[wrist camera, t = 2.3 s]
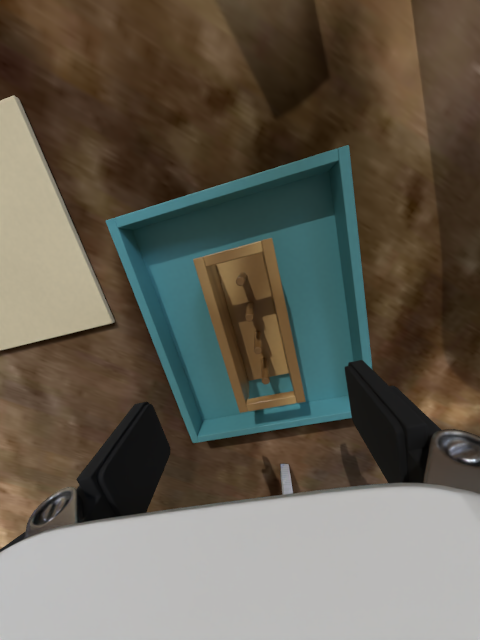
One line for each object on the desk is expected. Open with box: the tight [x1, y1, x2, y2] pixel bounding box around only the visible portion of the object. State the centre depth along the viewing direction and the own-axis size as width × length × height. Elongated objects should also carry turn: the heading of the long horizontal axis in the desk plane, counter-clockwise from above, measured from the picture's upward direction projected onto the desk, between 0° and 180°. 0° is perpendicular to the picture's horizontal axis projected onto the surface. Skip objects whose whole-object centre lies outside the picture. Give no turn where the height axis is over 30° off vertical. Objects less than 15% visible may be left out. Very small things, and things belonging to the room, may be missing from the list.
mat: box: [0, 96, 115, 351], centre depth 23 cm, size 16×20×1 cm
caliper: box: [280, 464, 293, 495], centre depth 29 cm, size 20×1×6 cm, turn 4°
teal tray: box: [106, 145, 372, 443], centre depth 22 cm, size 20×24×3 cm
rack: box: [193, 238, 306, 413], centre depth 21 cm, size 6×14×5 cm, turn 14°
